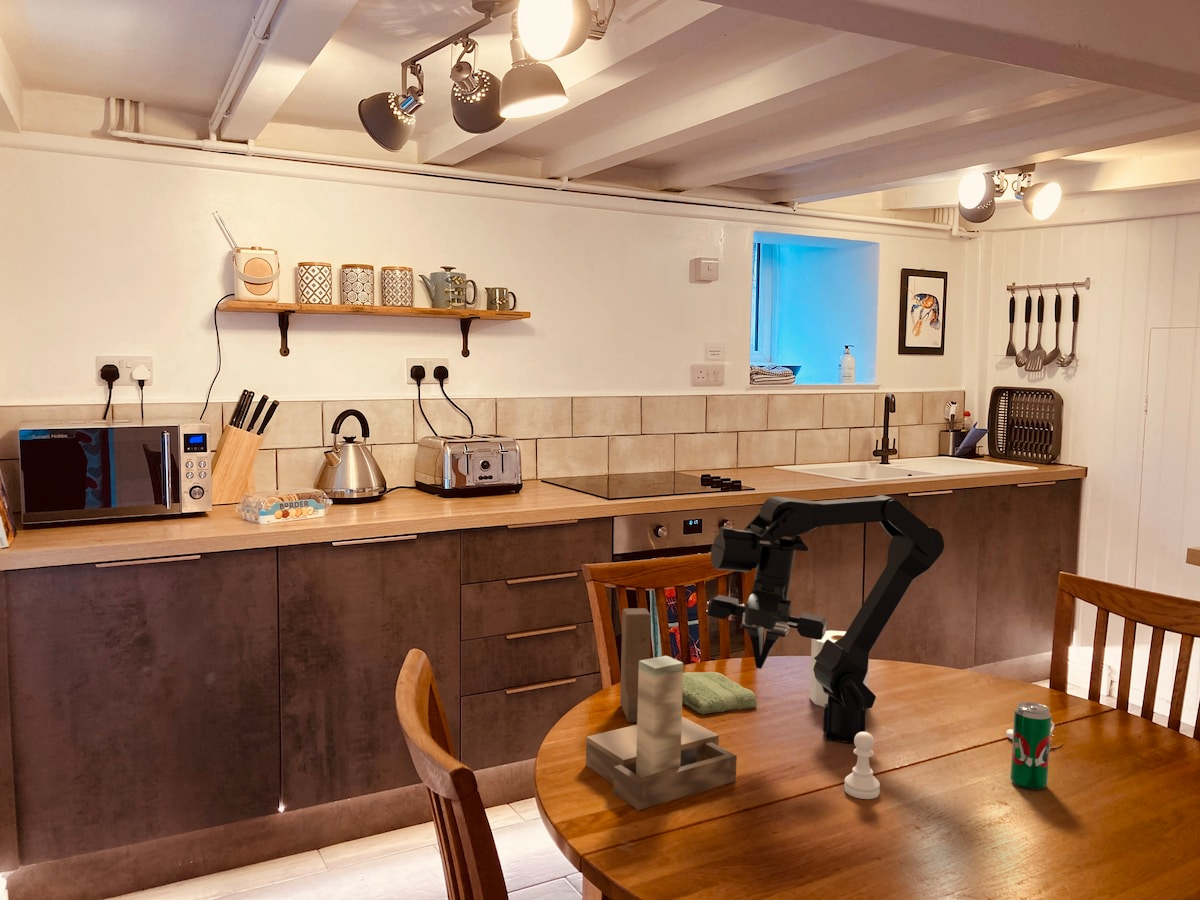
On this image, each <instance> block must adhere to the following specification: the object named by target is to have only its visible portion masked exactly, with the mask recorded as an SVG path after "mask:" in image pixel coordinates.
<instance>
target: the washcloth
mask: <svg viewBox="0 0 1200 900" xmlns="http://www.w3.org/2000/svg"><path fill="white" fill-rule="evenodd" d="M756 698H757V697H756V694H755V693H754V691H752V690H751V689H749V688H745V687H744V686H741V684H739V683H738V682H735V681H733V680H731V679H729V678H728V677H727V676H725V675H724V674H722V673H721V672H716V671H705V672H704V671H703V672H701V671H696V672H695V671H694V672H693V671H692V672H691V671H690V672H689V671H687V672H683V692H682V704H684V705H685V706H686V707H689V708H690V709H692V710H693V711H695V712H697V714H700V715H706V714H713V713H724V712H725V711H731V710H737V711H739V710H744V709H745V710H746V709H748V710H749V709H753V708H755V707H757V705H758V701H757V699H756Z"/></svg>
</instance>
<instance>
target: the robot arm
mask: <svg viewBox="0 0 1200 900" xmlns="http://www.w3.org/2000/svg"><path fill="white" fill-rule="evenodd" d="M874 522H875V523H877V522H878V523H880V525H881V526H882V528H883V530H884V531H885V532H886V533H887V534H888V535H889V536H890V537H891V540H890V543H889V545H888V547H887V548H888V549H887V560H886V561H887V562H886V565H885V568H884V569H883V571H882V572H881V574H880V575H879V577H878V579H877V580H876V582H875V584H874V585H873V587H872V588H871V591H870V592H869V594H868V595H867V597H866V599H865V600H864V602H863V604H861V605H862V606H861V607H860V608H859V610H858V612H857V614H856V615H855V617H854V618H853V620H852V622H851V623H850V625H849V627H848V629H847V630H846V633H845V635H844V636H843V637H842V638H841V639H839V640H838V641H836V642H835V643H833V642H832V641H830V640H828V639H827V640H826V641H825V643H824V645H823V647H822V649H821V651H820V653H819V654H818V655H817V656H816V657H814V659H815V660H816V663H815V665H814V669H813V671H814V675H815V678H816V680H817V682H819V683H820V684H821V685H822V688H823V691H824V692H825V693H827V694H828V695H829V697H828V704H825V705H824V707H823V720H822V721H823V722H822V732H823V733H825V736H824V738H825V740H826V741H834V742H842V743H849V744H854V738H855V736H856V734H857V733H859V732H867V728H866V727H867V726H866V722H867V709H872V708H873V706H874V704H875V701H876V698H877V695H876V694H875V693H873V691H871V689H869V687H868V688H867V687H866V685H865V684H864V683H863V682H864V679H865V677H866V674H867V672H868V673H869V666H868V661H869V662H870V653H871V650H872V649H873V647H874V646H875V644H876V643H877V641H878V639H879V637H880V635H881V634H882V632H883V631H884V629H885V627H886V626H887V624H888V622H889V621H890V619H891V617H892V616H893V614H894V613H895V611H896V609H897V607H898V606H899V604H900V602H901V601H902V599H903V598H904V596H905V595H906V593H907V591H908V589H909V588H910V586H911V584H912V583H913V581H914V580H915V579H916V578H918V577H920V576H921V575H923V574H924V573H925V572H927V571H929V570H930V569H932V566H933V565H934V564H935V563H936V562H937V561H938V560H939V558H940V557H941V556H942V554H943V552H944V551H945V546H946V543H945V540H944V537H943V535H942V533H941V531H940V530H938V529H936V528H934V527H931V526H928V525H927V524H926V522H924V521H923V520H921V519H920V518H919V517H918V516H916V514H913V512H911V511H910V510H908V509H907V507H905V505H903V503H901V501H900V500H899V499H897V498H895V497H891V496H887V495H883V494H882V495H881V494H880V495H876V496H871V497H869V496H868V497H856V498H844V499H831V500H830V499H829V500H817V501H816V500H815V501H814V500H805V499H800V498H795V497H794V498H793V497H787V496H778V495H777V496H776V495H775V496H770V497H768V498H767V499H765V501H764V502H763V503H762V504H761V507H760V508H759V512H758V513H757V514H756V515H755V517H754V518H753V519H752V520H751V521H750V522H749V523H748V524H747V525H746V527H744V529H734V528H730V527H727V526H720V527H719V532H718V533H717V535H716V536H715V538H714V541H713V543H712V544H711V549H710V561H711V565H712V568H713V569H714V570H720V571H721V570H723V571H730V572H731V571H732V572H740V573H741V572H742V573H750V572H751V571H753V569H755V573H754V581H753V585H752V590H751V591H750V594H749V595H748V598H747V601H746V602H745V605H743V604H739V598H735V597H731V596H728V595H727V596H726V595H722V594H718V595H717V596H715V597H714V598H711V600H709V601H708V602H709V603H708V606H707V612H706V616H708V617H712V618H716V619H720V620H726V619H727V618H729V617H730V616H731V615H732V616H736V617H741V618H742V622H741V624H740V628H741V629H744V630H746V633H747V635H748V636H749V639H750V642H751V646H752V651H753V656H754V657H753V658H754V664H755V667H756V669H759V670H761V669H762V668H763V667H764V665H765V662H766V660H768V659H767V658H769V657H768V656H769V655H770V653H771V651H772V649H773V647H774V646H775V643H776V642H777V640H778V639H780V638H779V637H781V638H785V637H786V636H787V634H789V632H790V628H792V629H796V631H797V632H798V634H799V635H800V637H804V638H809V639H811V640H812V639H816V640H822V638H823V636H824V635H825V632H826V631H827V624H828V621H827V619H826V617H825V616H823V615H818V614H813V613H808V612H802V614H801V615H800V616H794V615H791V614H792V613H791V612H792V601H791V600H788V599H789V592H790V586H791V579H792V572H793V566H794V560H795V552H796V551H799V552H808V551H809V547H808V546H807V545H806V543H805V542H804V541H803V539H802V536H801V535H803V534H806V533H809V532H811V531H813V530H815V529H818V528H822V527H825V526H826V527H827V526H838V525H839V526H840V525H851V524H853V525H854V524H864V523H874ZM764 630H766V632H765V633H766V634H765V640H764ZM763 642H764V643H763Z"/></svg>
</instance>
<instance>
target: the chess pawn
mask: <svg viewBox="0 0 1200 900" xmlns="http://www.w3.org/2000/svg"><path fill="white" fill-rule="evenodd" d="M853 744H854V746H855V747H856V748H854V749H853V754H855V755H856V756H857V759H856V760H857V761H856V764H855V766H853V767H852V772H850V773H849V774H848V775H847V776H845V778H844V786H843V790H844V791H845V793H846V794H848V795H849V796H851V797H853V798H855V799H860V800H873V799H876V798H878V797H879V795H880V792H881V791H880V787H881V783H880V781H879V780H878V779H877V778H876V776H874V771H873V769H872V768H871V766H870V757H872V756H874V754H875V753H874V751H873V748H874V746H875V739H874V737H873V735H872V734H871V733H869V732H868V731H866V732H859V733H857V734H856V736H855V738H854V743H853Z"/></svg>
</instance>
